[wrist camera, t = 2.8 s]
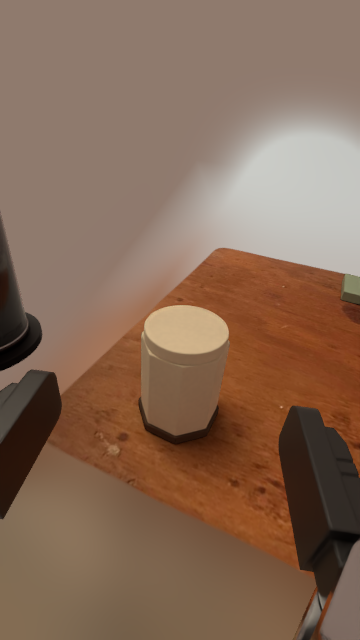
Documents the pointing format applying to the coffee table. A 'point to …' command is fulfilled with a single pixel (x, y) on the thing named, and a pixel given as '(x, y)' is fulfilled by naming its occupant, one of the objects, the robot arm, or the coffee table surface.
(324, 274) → the coffee table surface
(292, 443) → the robot arm
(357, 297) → the green square peg base
